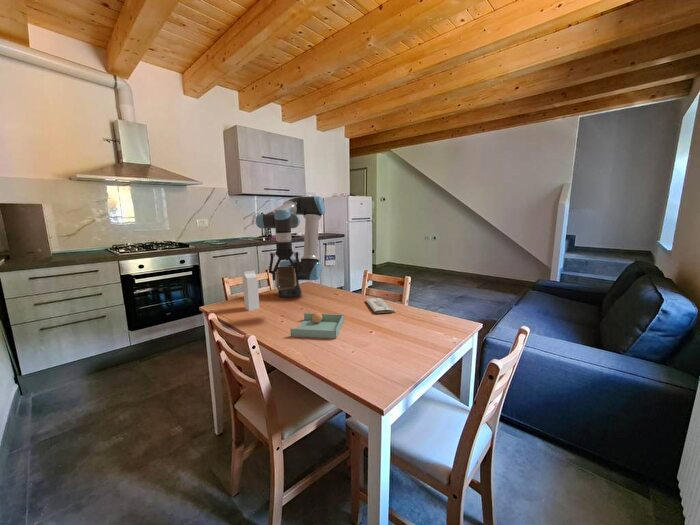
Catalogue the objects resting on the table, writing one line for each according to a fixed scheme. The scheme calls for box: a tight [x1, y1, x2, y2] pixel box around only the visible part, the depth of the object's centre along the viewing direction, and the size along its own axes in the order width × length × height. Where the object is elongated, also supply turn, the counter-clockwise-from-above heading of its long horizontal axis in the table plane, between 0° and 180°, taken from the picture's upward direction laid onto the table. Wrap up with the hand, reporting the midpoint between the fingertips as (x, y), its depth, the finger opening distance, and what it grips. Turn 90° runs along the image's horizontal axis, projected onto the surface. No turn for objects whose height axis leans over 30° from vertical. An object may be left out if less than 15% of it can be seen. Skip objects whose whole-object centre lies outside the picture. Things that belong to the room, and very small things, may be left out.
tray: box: [289, 312, 345, 340], centre depth 131 cm, size 20×20×4 cm
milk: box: [242, 269, 260, 312], centre depth 157 cm, size 6×6×22 cm
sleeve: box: [275, 266, 296, 291], centre depth 144 cm, size 8×8×10 cm
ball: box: [312, 312, 322, 323], centre depth 138 cm, size 5×5×5 cm
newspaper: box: [365, 297, 396, 314], centre depth 161 cm, size 23×12×2 cm, turn 10°
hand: (285, 285), depth 144 cm, fingers closed on sleeve, 9 cm apart
